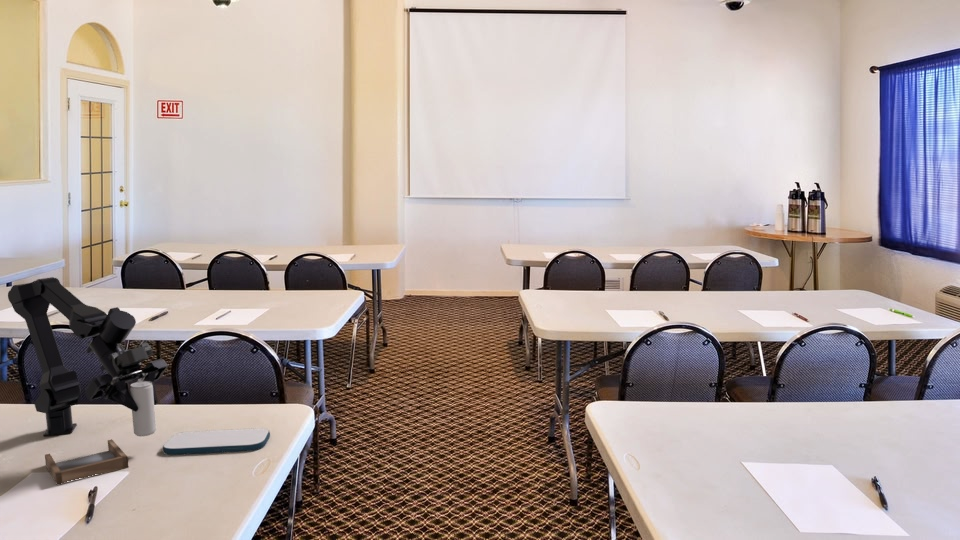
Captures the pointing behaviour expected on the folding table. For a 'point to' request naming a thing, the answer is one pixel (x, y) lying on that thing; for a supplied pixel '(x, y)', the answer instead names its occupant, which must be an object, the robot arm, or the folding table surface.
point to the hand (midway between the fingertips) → (146, 407)
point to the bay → (87, 464)
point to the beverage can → (143, 408)
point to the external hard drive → (216, 441)
